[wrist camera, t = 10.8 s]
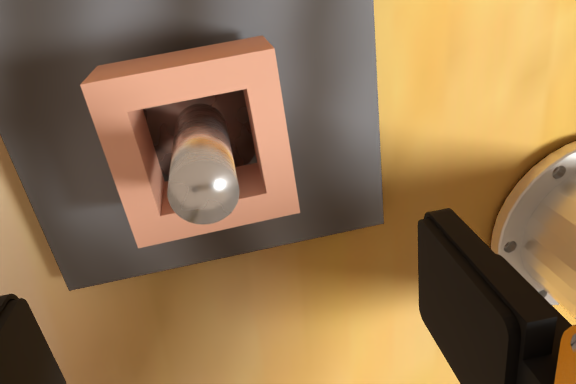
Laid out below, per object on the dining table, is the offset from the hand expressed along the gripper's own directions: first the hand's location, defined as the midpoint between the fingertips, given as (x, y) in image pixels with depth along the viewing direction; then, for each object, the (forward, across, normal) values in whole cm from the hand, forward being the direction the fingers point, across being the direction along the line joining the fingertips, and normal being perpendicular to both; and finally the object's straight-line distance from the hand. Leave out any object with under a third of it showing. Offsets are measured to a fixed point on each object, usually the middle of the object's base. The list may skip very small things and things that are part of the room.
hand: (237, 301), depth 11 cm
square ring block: (+12, +1, -1) cm, 13 cm away
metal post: (+13, +1, -1) cm, 14 cm away
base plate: (+15, +1, -1) cm, 15 cm away
